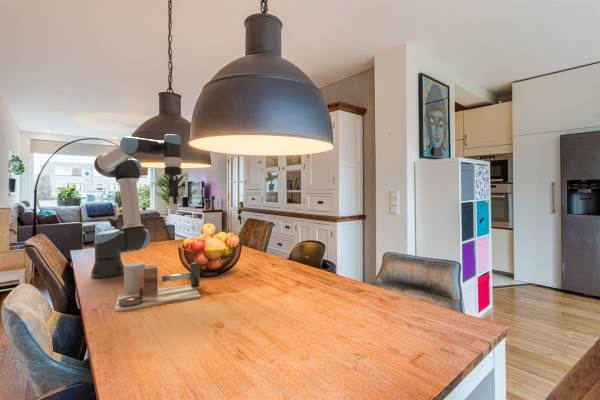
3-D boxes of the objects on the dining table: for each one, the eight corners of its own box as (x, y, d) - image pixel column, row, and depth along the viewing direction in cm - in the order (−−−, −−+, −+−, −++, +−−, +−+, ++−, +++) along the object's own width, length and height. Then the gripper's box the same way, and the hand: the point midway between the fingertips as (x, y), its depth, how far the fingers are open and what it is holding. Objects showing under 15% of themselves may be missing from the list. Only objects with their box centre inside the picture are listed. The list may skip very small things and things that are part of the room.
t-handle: (162, 289, 132) (161, 265, 132) (198, 284, 139) (198, 261, 139) (162, 291, 129) (162, 267, 128) (200, 286, 136) (199, 263, 135)
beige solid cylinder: (120, 292, 132) (119, 265, 131) (137, 287, 139) (137, 261, 139) (132, 295, 128) (131, 267, 128) (149, 290, 135) (148, 263, 135)
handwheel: (135, 296, 122) (135, 273, 122) (151, 298, 120) (151, 275, 120) (113, 305, 113) (113, 280, 113) (130, 307, 110) (129, 282, 110)
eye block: (118, 296, 126) (117, 268, 126) (194, 286, 140) (193, 260, 140) (115, 311, 110) (114, 278, 110) (200, 298, 124) (200, 268, 124)
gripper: (162, 168, 157) (163, 209, 158) (166, 164, 135) (167, 211, 136) (178, 168, 161) (178, 208, 161) (184, 164, 139) (185, 211, 139)
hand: (173, 210), depth 148 cm, fingers open, 13 cm apart
